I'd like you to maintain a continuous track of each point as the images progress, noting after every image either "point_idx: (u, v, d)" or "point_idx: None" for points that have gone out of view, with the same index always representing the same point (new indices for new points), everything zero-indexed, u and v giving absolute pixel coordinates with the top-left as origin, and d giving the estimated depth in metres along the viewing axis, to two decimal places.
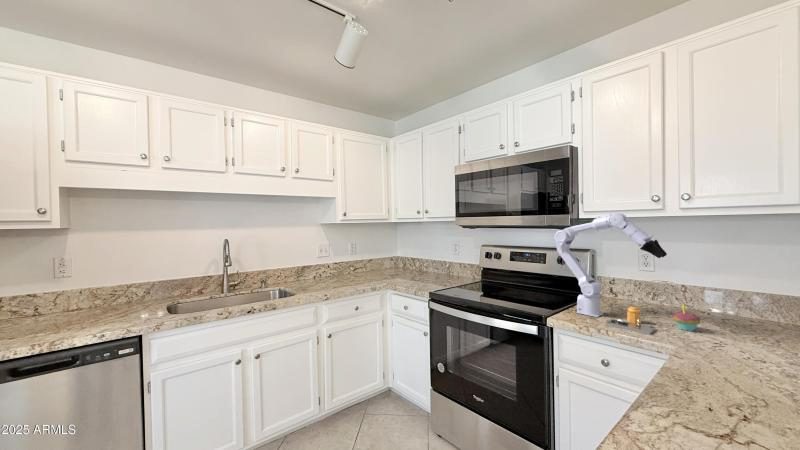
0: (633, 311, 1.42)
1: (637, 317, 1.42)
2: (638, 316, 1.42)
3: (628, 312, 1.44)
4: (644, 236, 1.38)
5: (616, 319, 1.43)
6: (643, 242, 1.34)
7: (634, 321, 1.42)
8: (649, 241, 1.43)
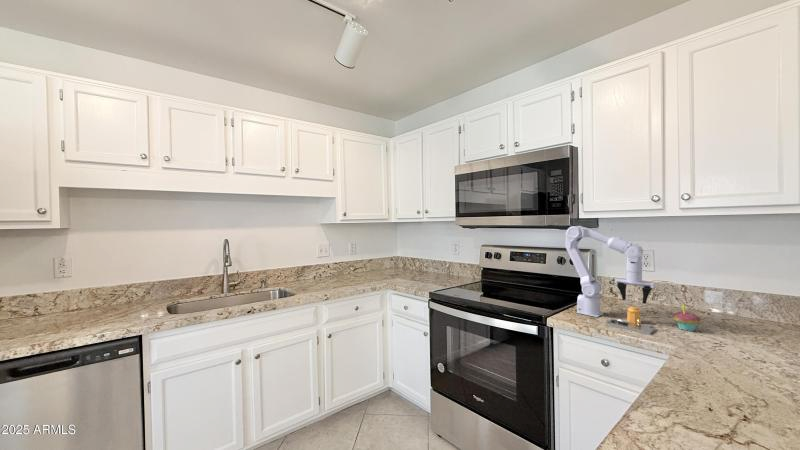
0: (633, 311, 1.42)
1: (637, 317, 1.42)
2: (638, 316, 1.42)
3: (628, 312, 1.44)
4: None
5: (616, 319, 1.43)
6: (654, 286, 1.38)
7: (634, 321, 1.42)
8: None
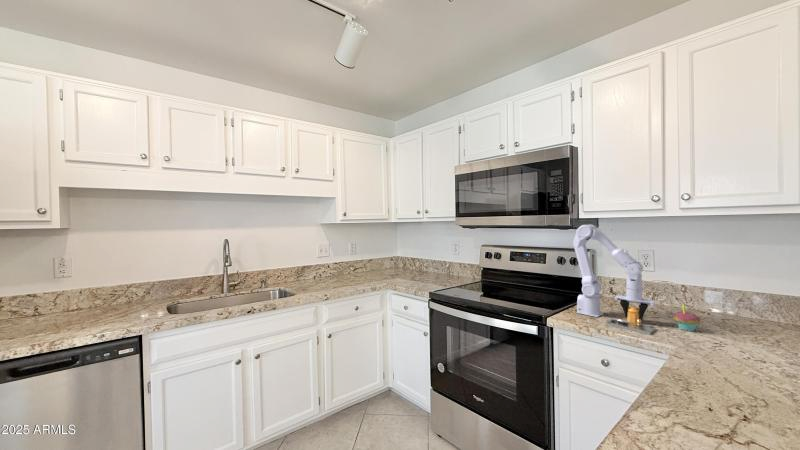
0: (633, 311, 1.42)
1: (637, 317, 1.42)
2: (638, 316, 1.42)
3: (628, 312, 1.44)
4: None
5: (616, 319, 1.43)
6: (654, 304, 1.38)
7: (634, 321, 1.42)
8: None
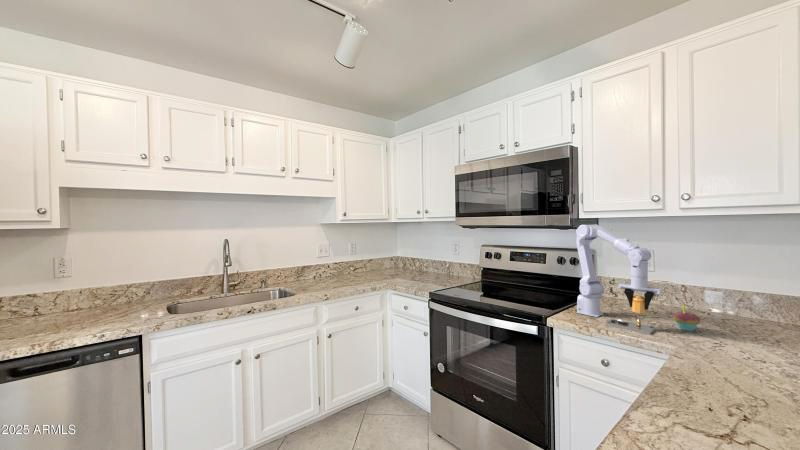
0: (638, 300, 1.34)
1: (642, 306, 1.33)
2: (643, 305, 1.33)
3: (633, 301, 1.36)
4: None
5: (616, 319, 1.43)
6: (660, 292, 1.30)
7: (639, 311, 1.33)
8: None
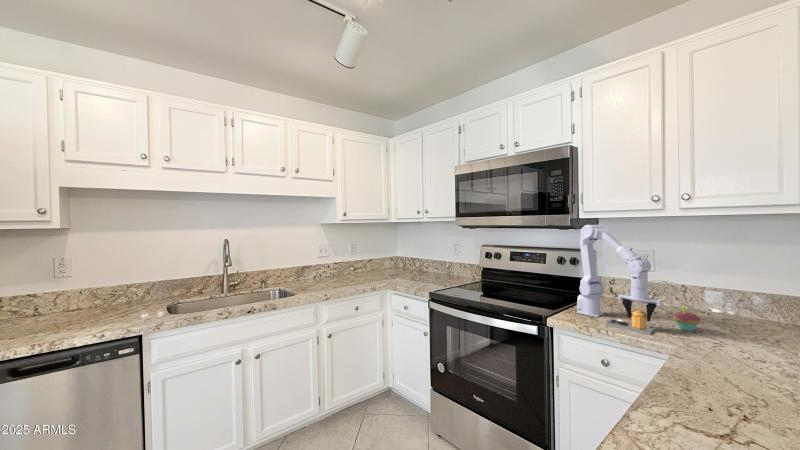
0: (638, 315, 1.34)
1: (642, 321, 1.33)
2: (643, 320, 1.33)
3: (633, 316, 1.36)
4: None
5: (616, 319, 1.43)
6: (660, 304, 1.30)
7: (639, 325, 1.34)
8: None
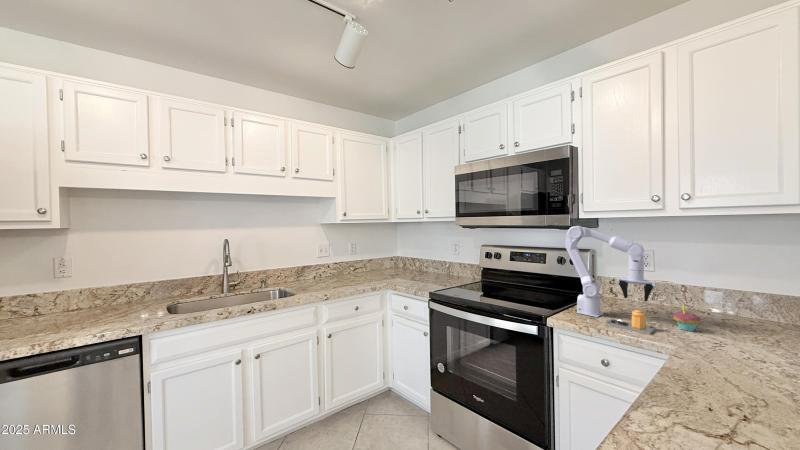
0: (638, 315, 1.34)
1: (642, 321, 1.33)
2: (643, 320, 1.33)
3: (633, 316, 1.36)
4: None
5: (616, 319, 1.43)
6: (655, 284, 1.40)
7: (639, 325, 1.34)
8: None
